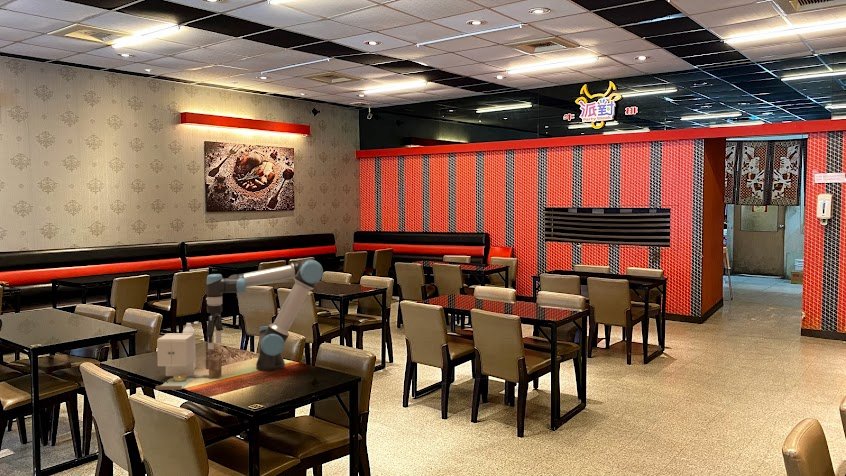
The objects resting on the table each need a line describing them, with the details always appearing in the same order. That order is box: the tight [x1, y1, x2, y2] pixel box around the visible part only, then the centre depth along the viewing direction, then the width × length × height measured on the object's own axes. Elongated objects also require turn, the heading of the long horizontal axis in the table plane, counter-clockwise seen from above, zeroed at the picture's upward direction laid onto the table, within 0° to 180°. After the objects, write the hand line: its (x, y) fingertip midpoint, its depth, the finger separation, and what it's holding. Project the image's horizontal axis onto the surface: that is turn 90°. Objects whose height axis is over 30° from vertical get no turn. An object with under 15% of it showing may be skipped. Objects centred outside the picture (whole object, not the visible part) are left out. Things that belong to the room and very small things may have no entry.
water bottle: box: [182, 321, 199, 370], centre depth 351 cm, size 9×6×25 cm
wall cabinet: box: [156, 332, 195, 377], centre depth 330 cm, size 14×14×22 cm
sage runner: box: [155, 377, 195, 391], centre depth 322 cm, size 12×20×2 cm, turn 2°
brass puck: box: [172, 374, 186, 382], centre depth 328 cm, size 6×6×2 cm
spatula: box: [186, 356, 223, 380], centre depth 334 cm, size 21×5×10 cm, turn 92°
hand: (214, 346), depth 333 cm, fingers open, 13 cm apart
